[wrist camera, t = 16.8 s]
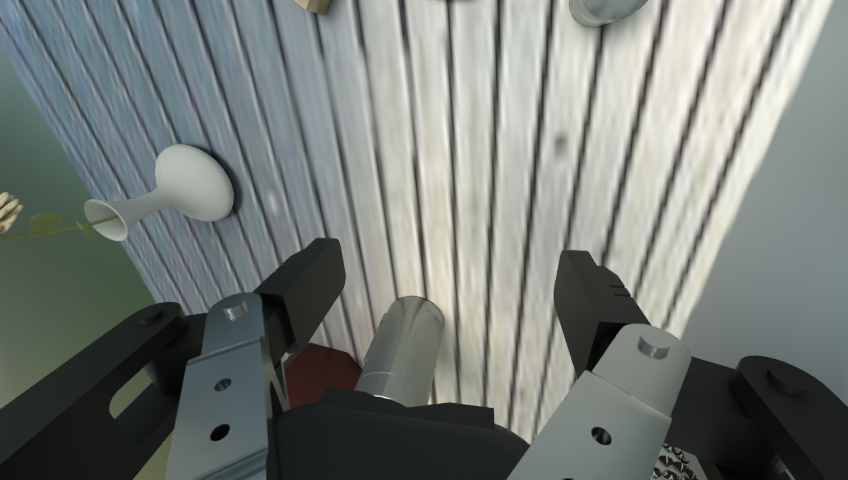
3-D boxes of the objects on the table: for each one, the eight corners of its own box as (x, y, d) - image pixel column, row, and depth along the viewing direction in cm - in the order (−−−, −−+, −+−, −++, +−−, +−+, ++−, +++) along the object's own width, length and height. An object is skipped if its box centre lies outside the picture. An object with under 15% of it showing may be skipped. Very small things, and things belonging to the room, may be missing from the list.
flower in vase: (241, 159, 43) (-9, 252, 22) (241, 227, 49) (43, 353, 27) (154, 124, 43) (-183, 182, 22) (163, 196, 49) (-94, 298, 28)
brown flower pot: (326, 314, 55) (218, 474, 33) (411, 388, 60) (365, 567, 39) (259, 362, 66) (145, 505, 44) (336, 421, 71) (268, 574, 50)
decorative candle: (592, 342, 46) (677, 580, 25) (656, 359, 46) (800, 620, 24) (567, 380, 51) (620, 608, 30) (625, 396, 50) (722, 642, 29)
